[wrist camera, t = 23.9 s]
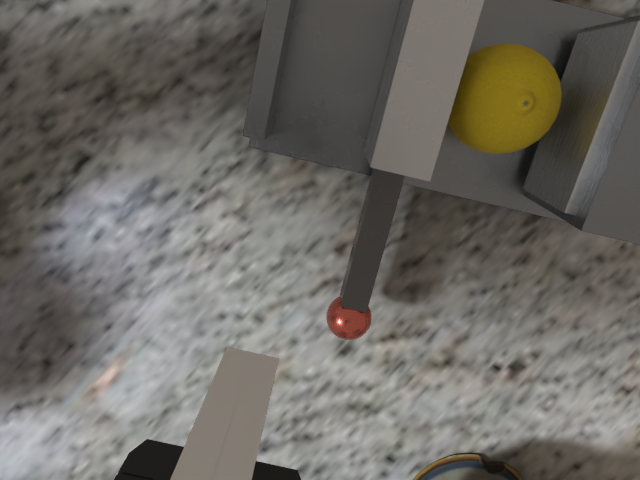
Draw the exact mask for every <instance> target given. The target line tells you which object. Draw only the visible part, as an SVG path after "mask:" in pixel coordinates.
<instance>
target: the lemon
mask: <svg viewBox="0 0 640 480" xmlns="http://www.w3.org/2000/svg"><path fill="white" fill-rule="evenodd" d="M561 96H562V92H561V85H560V80H559V78H558V75H557V73H556V71H555V69H554V67H553V66H552V65H551V64H550V63H549V61H548V60H547V59H546V58H545V57H544V56H542V55H541V54H539V53H538V52H536V51H535V50H533V49H531V48H528V47H525V46H522V45H519V44H506V43H500V44H496V45H491V46H487V47H484V48H482V49H480V50H478V51H476V52H474V53H472V54H470V55H469V56H468V57H467V60H466V63H465V66H464V70H463V73H462V77H461V80H460V83H459V87H458V90H457V93H456V97H455V100H454V103H453V107H452V110H451V113H450V117H449V120H448V125H449V127H450V128H451V130H452V131H453V133H454V134H455V136H456V137H457V138H458V139H459V140H461V141H462V142H463V143H464V144H465V145H467V146H468V147H471V148H473V149H475V150H477V151H480V152H484V153H490V154H505V153H512V152H515V151H518V150H521V149H524V148H526V147H528V146H530V145H531V144H533V143H535V142H536V141H538V140H539V139H540V138H541V137H542V136H543V135H544V134H545V133H546V132H547V131H548V130H549V129H550V127H551V126H552V124H553V123H554V121H555V120H556V117H557V114H558V111H559V109H560V104H561Z"/></svg>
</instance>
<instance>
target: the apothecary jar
mask: <svg viewBox="0 0 640 480" xmlns="http://www.w3.org/2000/svg"><path fill="white" fill-rule="evenodd" d="M413 480H523V479H522V478H521V477H520V475H519V474H518V473H517V472H516V471H515V470H514V469H512V468H511V467H510V466H508V465H507V464H505V463H503V462H488V461H485V460H484V459H482V457H481V456H480V455H478V454H459V455H452V456H448V457H445V458H443V459H440V460H438V461H435V462H434V463H432V464H430V465H428V466H427V467H426V468H424V469H423V470H422V471H420V472H419V473H418V474H417V475H416V476H415V478H414V479H413Z"/></svg>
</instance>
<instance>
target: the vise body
mask: <svg viewBox="0 0 640 480" xmlns="http://www.w3.org/2000/svg"><path fill="white" fill-rule="evenodd" d="M401 1H402V0H267V5H266V10H265V16H264V21H263V27H262V32H261V38H260V43H259V49H258V54H257V60H256V65H255V71H254V76H253V82H252V87H251V93H250V98H249V104H248V109H247V115H246V120H245V126H244V131H243V136H246V137H250V142H249V147H251V148H256V149H260V150H264V151H268V152H273V153H277V154H281V155H285V156H290V157H294V158H298V159H302V160H306V161H311V162H315V163H319V164H323V165H328V166H332V167H336V168H340V169H344V170H349V171H353V172H357V173H361V174H366V175H370V176H371V175H372V171H373V168H371V167H370V166H369V163H368V160H367V157H366V154H365V152H364V147H365V143H366V139H367V135H368V131H369V127H370V123H371V119H372V115H373V111H374V107H375V103H376V99H377V96H378V92H379V88H380V84H381V80H382V76H383V72H384V68H385V64H386V60H387V56H388V52H389V48H390V45H391V41H392V37H393V33H394V29H395V25H396V21H397V17H398V13H399V9H400V5H401ZM500 43H506V44H519V45H522V46H525V47H528V48H531V49H533V50H535V51H536V52H538V53H539V54H541V55H542V56H544V57H545V58H546V59H547V60H548V61H549V63H550V64H551V65H552V66H553V67H554V69H555V71H556V73H557V75H558V78H559V80H560V85H561V92H562V96H561V104H560V109H559V111H558V114H557V117H556V120H555V121H554V123H553V124H552V126H551V127H550V129H549V130H548V131H547V132H546V133H545V134H544V135H543V136H542V137H541V138H540V139H539V140H538V141H536V142H535V143H533V144H531V145H530V146H528V147H526V148H524V149H521V150H518V151H515V152H512V153H505V154H490V153H484V152H480V151H477V150H475V149H473V148H471V147H468V146H467V145H465V144H464V143H463V142H462V141H461V140H459V139H458V138H457V137H456V136H455V134H454V133H453V131H452V130H451V128H450V127H449V125H448V123H447V127H446V130H445V133H444V137H443V140H442V143H441V147H440V150H439V153H438V157H437V160H436V163H435V167H434V170H433V173H432V177H431V180H430V181H425V180H421V179H417V178H413V177H409V176H405V177H404V181H403V183H404V184H408V185H412V186H416V187H420V188H425V189H429V190H433V191H437V192H442V193H446V194H450V195H454V196H458V197H463V198H467V199H471V200H475V201H480V202H484V203H488V204H492V205H497V206H501V207H505V208H509V209H513V210H518V211H522V212H526V213H530V214H535V215H539V216H543V217H547V218H551V219H556V220H560V221H564V222H568V223H570V224H571V225H573V226H575V227H576V228H578V229H579V230H581V231H585V232H589V233H593V234H598V235H602V236H606V237H610V238H615V239H619V240H623V241H627V242H632V243H636V244H640V16H636V17H631V18H627V19H625V18H621V17H617V16H613V15H609V14H605V13H601V12H597V11H593V10H589V9H585V8H581V7H577V6H573V5H569V4H565V3H561V2H557V1H553V0H484V3H483V6H482V10H481V13H480V16H479V20H478V23H477V26H476V30H475V33H474V36H473V40H472V43H471V46H470V50H469V53H468V56H469V55H470V54H472V53H474V52H476V51H478V50H480V49H482V48H484V47H487V46H491V45H496V44H500ZM468 56H467V57H468Z"/></svg>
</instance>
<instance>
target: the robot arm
mask: <svg viewBox="0 0 640 480" xmlns="http://www.w3.org/2000/svg"><path fill="white" fill-rule="evenodd" d="M278 360H279V358H275V357H270V356H266V355H261V354H257V353H252V352H248V351H243V350H239V349H234V348H230V347H227V349H226V351H225V353H224V356H223V358H222V360H221V363H220V365H219V367H218V370H217V372H216V374H215V377H214V379H213V381H212V384H211V386H210V388H209V391H208V393H207V395H206V397H205V400H204V402H203V404H202V407H201V409H200V411H199V414H198V416H197V418H196V421H195V423H194V425H193V428H192V430H191V432H190V435H189V437H188V439H187V442H186V444H185V446H184V447H181V446H176V445H172V444H167V443H163V442H158V441H153V440H149V439H147V440H145V441H144V442H143V443H142V444H140V445H139V446H138V447H136V448H135V449H134V450H132V451H131V452H130V453H129V454H128V456H127V458H126V460H125V461H124V463H123V465H122V467H121V468H120V470H119V473H118V475H116V477H115V479H114V480H301V478H300V475H299V473H298V470H294V469H289V468H285V467H280V466H275V465H271V464H266V463H262V462H257V461H256V458H257V453H258V449H259V444H260V440H261V436H262V431H263V427H264V422H265V418H266V413H267V409H268V404H269V400H270V395H271V391H272V386H273V382H274V377H275V373H276V369H277V364H278Z"/></svg>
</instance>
